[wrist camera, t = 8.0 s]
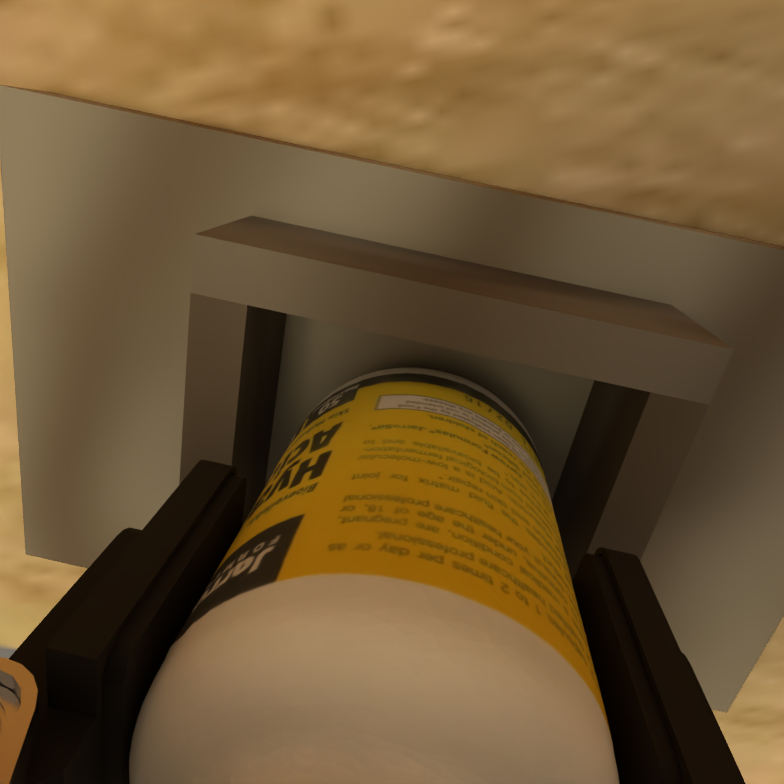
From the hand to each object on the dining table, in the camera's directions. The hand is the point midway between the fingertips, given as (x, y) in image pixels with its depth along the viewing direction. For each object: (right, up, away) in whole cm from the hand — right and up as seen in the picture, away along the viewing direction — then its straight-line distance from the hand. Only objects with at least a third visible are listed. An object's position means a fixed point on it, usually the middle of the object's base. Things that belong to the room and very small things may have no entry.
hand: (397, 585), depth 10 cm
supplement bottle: (0, +1, +3) cm, 4 cm away
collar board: (+1, +2, +6) cm, 6 cm away
